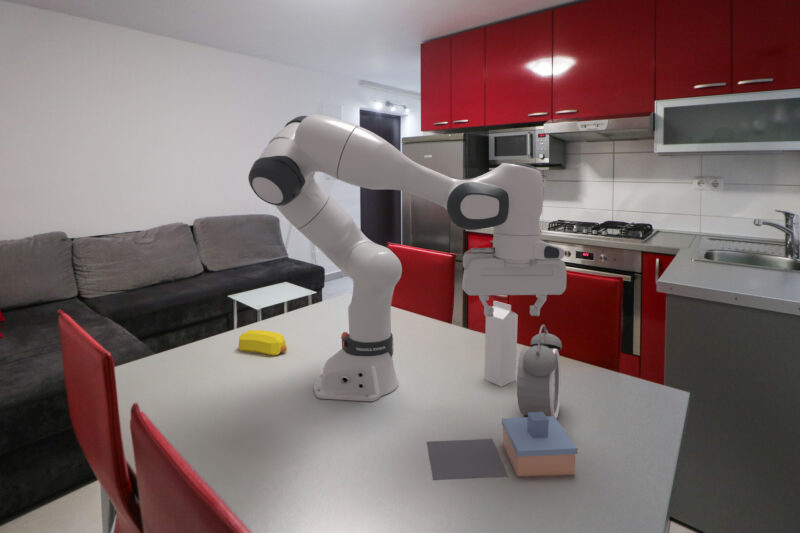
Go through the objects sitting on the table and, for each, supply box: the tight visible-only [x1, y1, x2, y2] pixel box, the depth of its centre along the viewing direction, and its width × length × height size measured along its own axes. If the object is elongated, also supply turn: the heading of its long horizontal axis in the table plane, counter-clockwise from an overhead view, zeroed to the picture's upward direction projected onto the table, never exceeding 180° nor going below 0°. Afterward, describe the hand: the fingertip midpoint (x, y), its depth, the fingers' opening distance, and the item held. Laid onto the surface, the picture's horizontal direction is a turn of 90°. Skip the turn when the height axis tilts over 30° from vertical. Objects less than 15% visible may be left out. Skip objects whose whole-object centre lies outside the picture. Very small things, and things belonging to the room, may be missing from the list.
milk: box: [484, 300, 519, 388], centre depth 120 cm, size 6×6×22 cm
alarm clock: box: [516, 324, 563, 419], centre depth 102 cm, size 16×9×22 cm, turn 154°
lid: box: [501, 412, 578, 457], centre depth 87 cm, size 11×11×5 cm
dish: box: [502, 426, 577, 478], centre depth 88 cm, size 11×11×5 cm
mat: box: [426, 438, 509, 481], centre depth 89 cm, size 14×12×1 cm
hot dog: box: [238, 329, 288, 357], centre depth 145 cm, size 18×7×8 cm
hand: (511, 315), depth 90 cm, fingers open, 8 cm apart
